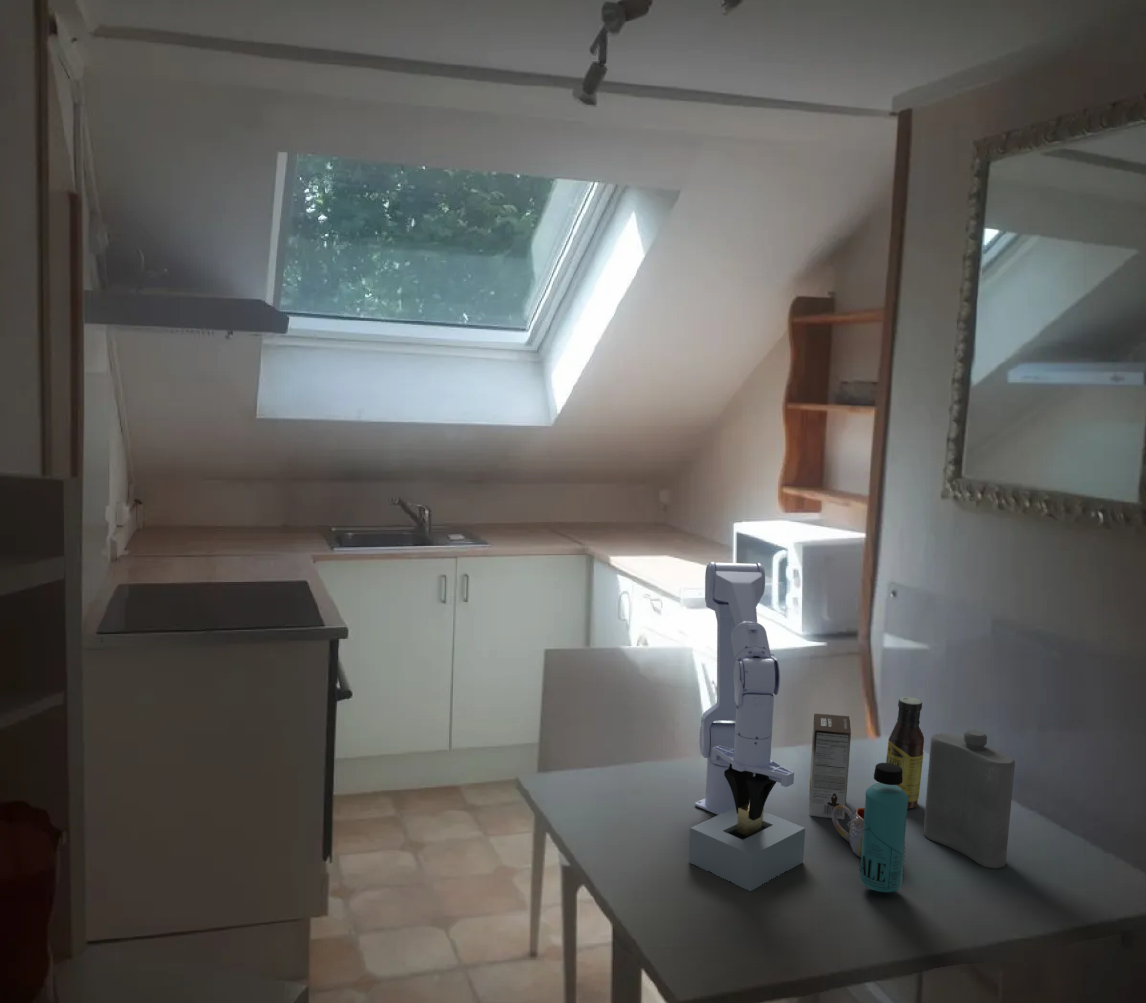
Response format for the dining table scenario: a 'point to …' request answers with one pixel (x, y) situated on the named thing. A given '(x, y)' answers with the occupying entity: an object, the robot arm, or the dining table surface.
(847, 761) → the coffee box
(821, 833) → the dining table surface
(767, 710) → the robot arm
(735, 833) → the grey block with hole
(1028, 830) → the dining table surface
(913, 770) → the sauce bottle
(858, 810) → the mug
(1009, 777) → the flask
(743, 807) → the brass block
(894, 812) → the beverage bottle
